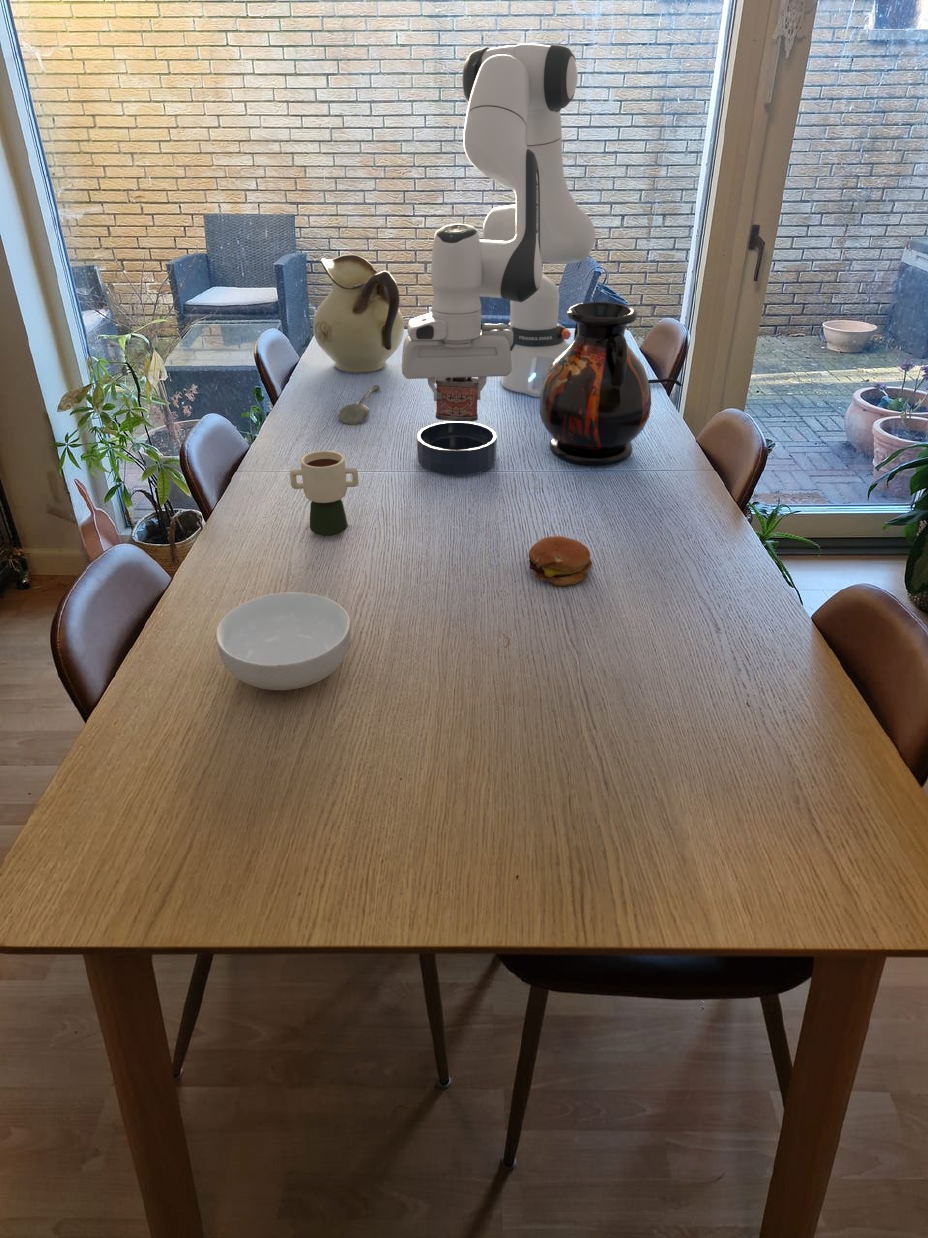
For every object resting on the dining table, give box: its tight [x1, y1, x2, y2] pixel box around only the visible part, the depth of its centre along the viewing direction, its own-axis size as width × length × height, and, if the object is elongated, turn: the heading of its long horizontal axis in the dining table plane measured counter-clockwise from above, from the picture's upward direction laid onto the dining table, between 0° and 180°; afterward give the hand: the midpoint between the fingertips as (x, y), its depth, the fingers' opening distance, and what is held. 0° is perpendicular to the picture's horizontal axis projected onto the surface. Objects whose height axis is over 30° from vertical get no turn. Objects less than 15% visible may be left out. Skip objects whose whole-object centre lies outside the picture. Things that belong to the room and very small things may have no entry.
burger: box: [527, 535, 593, 587], centre depth 136 cm, size 10×9×5 cm
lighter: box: [435, 377, 479, 423], centre depth 165 cm, size 8×3×10 cm, turn 84°
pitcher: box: [312, 253, 405, 374], centre depth 217 cm, size 22×24×25 cm
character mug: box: [289, 450, 359, 538], centre depth 145 cm, size 11×7×13 cm, turn 95°
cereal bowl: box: [215, 591, 352, 691], centre depth 114 cm, size 17×17×7 cm
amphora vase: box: [539, 301, 652, 468], centre depth 169 cm, size 22×22×28 cm
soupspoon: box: [338, 383, 381, 425], centre depth 198 cm, size 22×3×7 cm
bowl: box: [416, 421, 498, 476], centre depth 171 cm, size 15×15×6 cm
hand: (456, 399), depth 166 cm, fingers closed on lighter, 6 cm apart
